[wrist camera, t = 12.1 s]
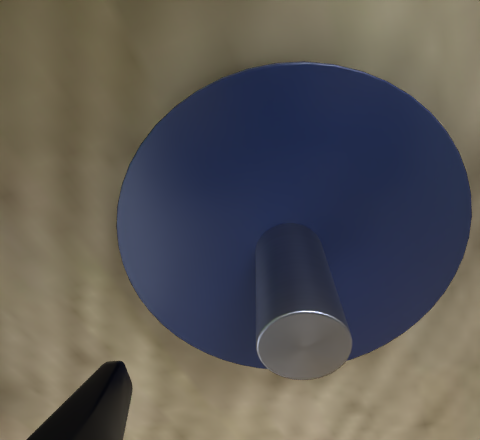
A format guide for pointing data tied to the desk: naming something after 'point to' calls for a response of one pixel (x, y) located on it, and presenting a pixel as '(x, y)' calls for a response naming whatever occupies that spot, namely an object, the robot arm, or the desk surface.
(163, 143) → the lid
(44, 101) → the desk surface
